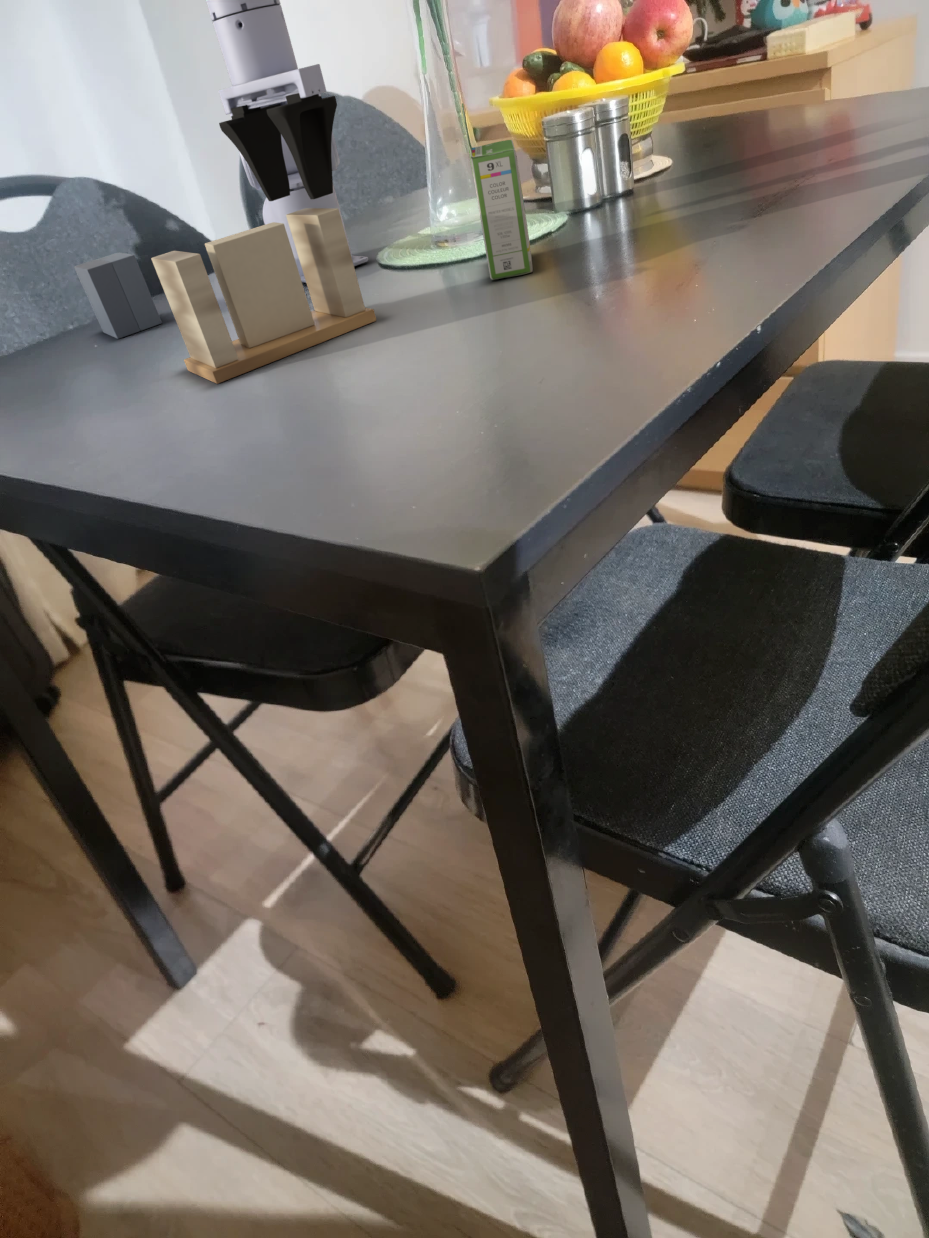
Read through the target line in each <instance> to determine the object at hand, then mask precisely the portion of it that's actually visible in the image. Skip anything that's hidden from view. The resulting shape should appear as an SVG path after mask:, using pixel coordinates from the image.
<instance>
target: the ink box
mask: <svg viewBox="0 0 929 1238" xmlns="http://www.w3.org/2000/svg"><path fill="white" fill-rule="evenodd" d="M461 113H462V114H461V115H462V120H463V124H464V130H465V134H466V141H467V146H468V153H469V163H470V167H471V174H472V178H473V181H474V187H475V192H476V194H475V195H476V200H477V206H478V207H477V208H478V213H479V219H480V226H481V232H482V238H483V244H484V250H485V255H486V256H485V257H486V261H487V266H488V273H489V278H490V280H492V281H493V280H499V279H504V278H505V279H506V278H511V277H517V276H522V275H526V274H530V273H532V272H533V271H534V270H533V258H532V250H531V242H530V236H529V229H528V220H527V214H526V207H525V200H524V195H523V189H522V183H521V181H522V180H521V175H520V169H519V163H518V162H519V161H518V157H517V152H516V148H515V145H514V141H513V139H506V140H500V141H495V142H491V143H486V144H483V145H479V146H475V147H473V146H472V144H471V139H470V135H469V128H468V123H467V116H466V111H465V103H463V102H462V103H461Z"/></svg>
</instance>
